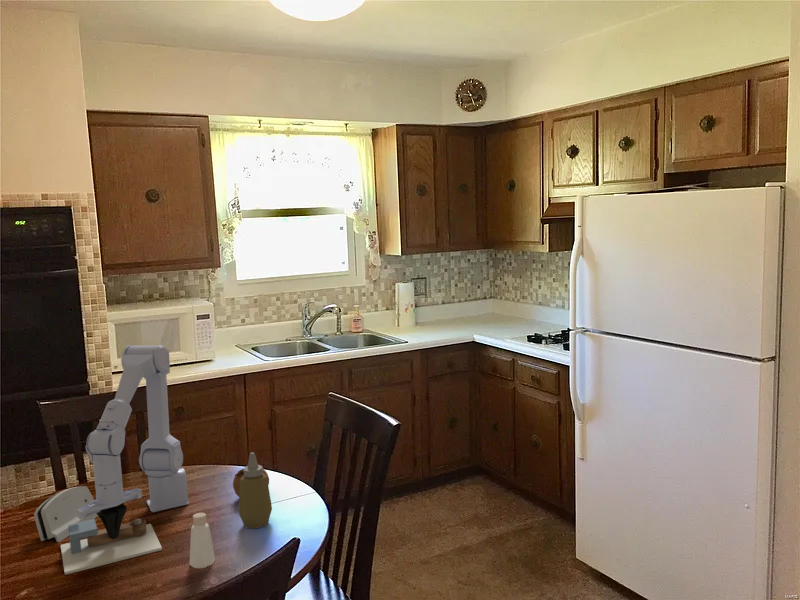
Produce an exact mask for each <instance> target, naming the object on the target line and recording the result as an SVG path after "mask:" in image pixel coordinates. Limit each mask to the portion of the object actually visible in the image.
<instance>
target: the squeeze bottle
mask: <svg viewBox="0 0 800 600" xmlns="http://www.w3.org/2000/svg"><path fill="white" fill-rule="evenodd" d="M257 460H258V459H257V457H256V454H255V452H250V453H249V456H248V462H247V465H246V466H245V467H243V468H244V469H243V468H242V469H243V470H244V476H243V477H242V478H241V479H240V497H238V499H239V500H238V514H239V517H240V519H241V521H242V524H243V525H244V527H245V528H248V529H260V528H263V527H265V526H266V525H268V523H269V521H270V517H271V515H272V514H271V513H272V509H273V507H272V500H271V494H270V487H269V485H268V481H267V476H266V475H265V474H263V469H264V468H263V466H262V465H260V464H258V461H257Z"/></svg>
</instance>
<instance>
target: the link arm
mask: <svg viewBox="0 0 800 600" xmlns="http://www.w3.org/2000/svg"><path fill="white" fill-rule="evenodd" d="M146 525H147V522H146V520H144V519H141V518H135V519H134V520H133V521H132V522H127V523H125V524H121V526H120V530H119V537H118V538H116V539H111V538H109V537H108V533H107V531H106V528H104V529H98V530H97V532H98V535H94V536H89V537H86V539H87V542H88V546H89V547H92V546H96V545H100V544H104V543H108V542H112V541H116V540H120V539H124V538H128V537H132V536H140V535H143V534H145V533H146Z"/></svg>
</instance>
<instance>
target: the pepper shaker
mask: <svg viewBox="0 0 800 600" xmlns="http://www.w3.org/2000/svg"><path fill="white" fill-rule="evenodd" d="M192 519H193V520H192V522H193V523H192V526H191V529H190V544H189V545H190V547H189V566H190V565H191V566H190V567H192V568H193V567H194V568H193V569H204V568H207V566H208V567H210V566H212V565H213V564H214V562H215V560H216V556H215V551H214V546H213V541H212V540H213V539H212V534H211V528H210V525H209V523H207V515H206V513H205V512H197V513H194V514H193V515H192ZM209 565H210V566H209Z"/></svg>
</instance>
